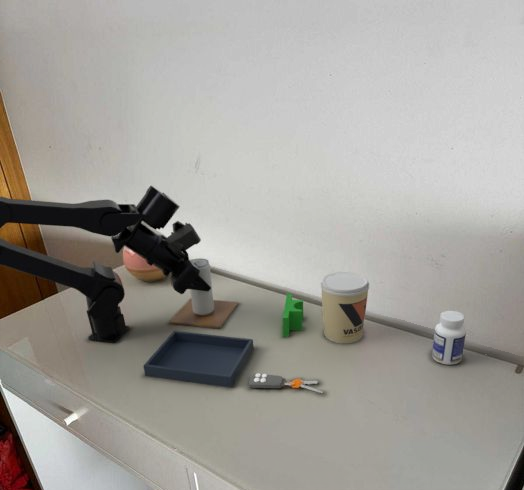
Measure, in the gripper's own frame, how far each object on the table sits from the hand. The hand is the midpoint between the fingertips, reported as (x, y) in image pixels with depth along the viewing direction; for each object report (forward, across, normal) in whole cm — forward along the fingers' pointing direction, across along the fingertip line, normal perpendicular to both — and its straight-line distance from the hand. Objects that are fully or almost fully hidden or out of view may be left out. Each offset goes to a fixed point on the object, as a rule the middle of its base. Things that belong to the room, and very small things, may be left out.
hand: (206, 285), depth 110 cm
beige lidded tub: (+21, -22, -11) cm, 32 cm away
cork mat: (+4, 0, +6) cm, 7 cm away
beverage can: (+4, 0, +6) cm, 7 cm away
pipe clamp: (+15, -14, -6) cm, 21 cm away
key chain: (+8, -34, +2) cm, 35 cm away
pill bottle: (+30, -38, -20) cm, 52 cm away
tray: (0, -19, +10) cm, 22 cm away
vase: (-1, +27, +11) cm, 29 cm away
